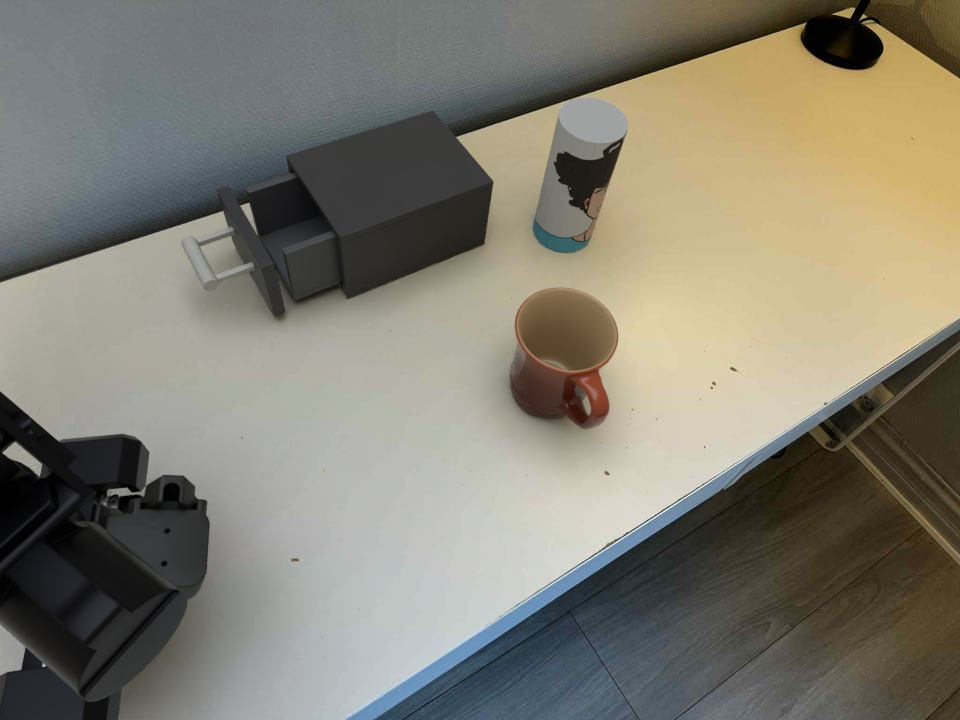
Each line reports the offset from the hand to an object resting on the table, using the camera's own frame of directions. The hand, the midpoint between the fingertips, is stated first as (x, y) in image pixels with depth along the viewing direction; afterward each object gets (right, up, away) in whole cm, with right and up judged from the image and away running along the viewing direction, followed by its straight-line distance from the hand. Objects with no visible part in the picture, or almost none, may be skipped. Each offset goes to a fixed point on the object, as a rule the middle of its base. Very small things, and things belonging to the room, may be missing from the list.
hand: (124, 607), depth 49 cm
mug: (+33, +14, +14) cm, 39 cm away
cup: (+36, +33, +27) cm, 55 cm away
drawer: (+8, +29, +19) cm, 35 cm away
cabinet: (+17, +32, +24) cm, 43 cm away
